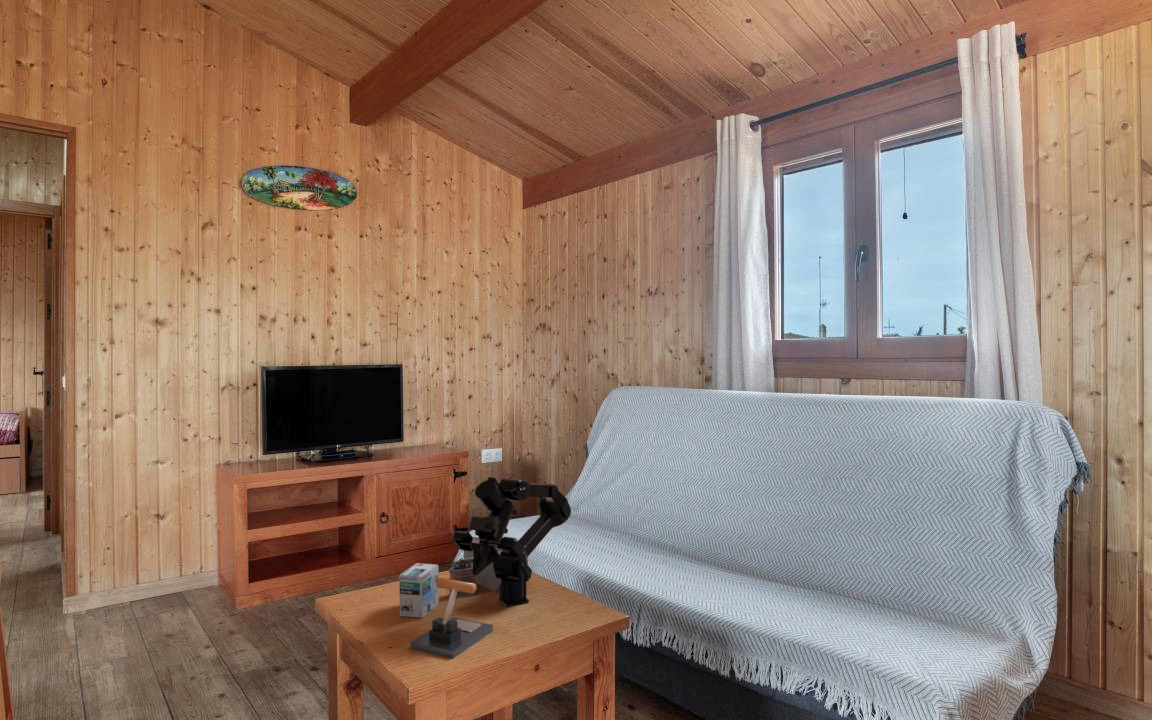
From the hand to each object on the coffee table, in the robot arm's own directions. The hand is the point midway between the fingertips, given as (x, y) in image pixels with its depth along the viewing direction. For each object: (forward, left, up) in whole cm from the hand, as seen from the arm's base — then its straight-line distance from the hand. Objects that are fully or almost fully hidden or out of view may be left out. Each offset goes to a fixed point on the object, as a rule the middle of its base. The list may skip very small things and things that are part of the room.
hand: (474, 574), depth 165 cm
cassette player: (-13, -28, -13) cm, 34 cm away
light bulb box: (+9, -17, -13) cm, 23 cm away
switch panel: (+7, +5, -13) cm, 16 cm away
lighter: (-5, -22, -13) cm, 26 cm away
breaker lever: (+10, +7, -8) cm, 15 cm away
